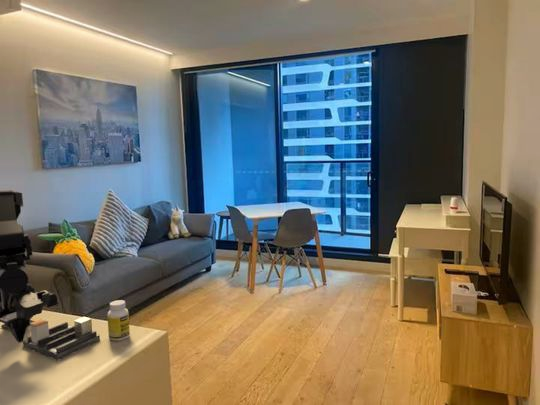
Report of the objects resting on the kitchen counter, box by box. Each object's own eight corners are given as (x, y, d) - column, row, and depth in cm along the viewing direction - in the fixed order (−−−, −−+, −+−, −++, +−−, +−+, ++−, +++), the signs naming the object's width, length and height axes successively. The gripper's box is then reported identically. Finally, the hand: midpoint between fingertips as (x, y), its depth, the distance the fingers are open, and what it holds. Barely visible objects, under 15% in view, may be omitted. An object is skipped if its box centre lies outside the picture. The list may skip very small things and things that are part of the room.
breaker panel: (23, 346, 108) (20, 324, 107) (65, 329, 118) (63, 308, 117) (57, 360, 100) (55, 336, 100) (99, 340, 111) (98, 318, 110)
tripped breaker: (31, 341, 107) (29, 323, 107) (42, 336, 110) (41, 319, 109) (38, 343, 106) (36, 325, 105) (49, 339, 108) (47, 321, 108)
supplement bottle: (123, 342, 109) (120, 306, 108) (104, 340, 111) (102, 305, 109) (133, 333, 115) (131, 299, 113) (116, 331, 116) (113, 298, 115)
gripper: (-11, 299, 89) (-3, 367, 91) (68, 275, 105) (73, 333, 107) (-36, 291, 95) (-28, 355, 97) (43, 270, 111) (48, 325, 113)
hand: (19, 341), depth 103 cm, fingers closed
